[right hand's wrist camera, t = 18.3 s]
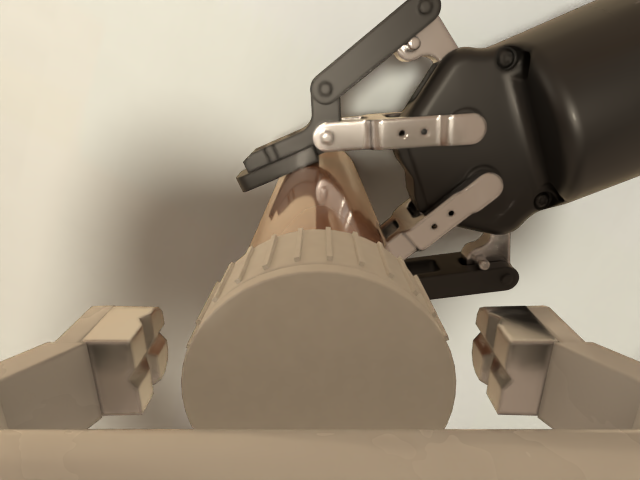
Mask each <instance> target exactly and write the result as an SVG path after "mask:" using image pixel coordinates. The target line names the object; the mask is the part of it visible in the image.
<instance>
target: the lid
mask: <svg viewBox="0 0 640 480" xmlns="http://www.w3.org/2000/svg"><path fill="white" fill-rule="evenodd" d="M196 324H197V326H196V328H195V330H194V332H193V334H192V336H191V338H190V340H189V342H188V343H187V347H186V348H188V349H187V352H186V356H185V360H184V363H183V369H182V378H181V385H182V397H183V402H184V407H185V411H186V414H187V416H188V419H189V422H190V424H191V426H192V428H193V429H445V427H446V425H447V423H448V420H449V418H450V415H451V412H452V409H453V404H454V400H455V393H456V374H455V365H454V362H453V358H452V355H451V351H450V349H449V346H448V344H447V342H446V341H447V340H449V338H448V335H447V333H446V331H445V329H444V327H443V325H442V323H441V321H440V320H439V318H438V316H437V313H436V311H435V309H434V307H433V305H432V303H431V301H430V299H429V297H428V295H427V293H426V291H425V289H424V288H423V286H422V284H421V282H420V280H419V278H418V276H417V275H415V276H413V275H412V274H411V272H410V271H409V270H408V269H407V266H406V264H405V262H404V260H403V258H402V257H400V256H399V257H398V258H397V257H395V256H394V255H393V254H392V253H391V252H389V251H388V250H386V249H385V248H384V247H383V244H382V243H381V242H379V241H378V242H377V244H376V243H374V242H372V241H370V240H368V239H366V238H363V237H360V236H358V233H357V232H354V231H353V233H352V234H351V233H347V232H341V231H336V230H331V227H326V230H323V229H315V230H303V228H298V231H296V232H291V233H287V234H284V235H281V236H277V235H276V234H274V235H272V236H271V239H270V240H268V241H266V242H263V243H261V244H259V245H258V246H256V247H255V248H254V247H253V246H250V247H249V248H248V250H247V252H246V254H245V255H244V256H242V257H241V258H240V259H239V260H238V261H237V262H236V263H235V264H234V263H233V262H231V263H230V264H229V266H228V268H227V270H226V272H225V274H224V276H223V278H222V280H221V282H218V281H217V282H216V284H215V286H214V288H213V290H212V292H211V294H210V296H209V298H208V300H207V302H206V303H205V305H204V307H203V309H202V311H201V313H200V315H199V317H198V319H197V321H196Z"/></svg>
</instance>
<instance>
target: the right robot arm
mask: <svg viewBox="0 0 640 480" xmlns="http://www.w3.org/2000/svg"><path fill="white" fill-rule="evenodd" d="M163 325H164V318H163V313H162V310H161V309H160V308H159V307H145V306H92V307H91V308H90V309H89V310H88V311H87V312H85V313H84V314H83V315H82V316H81V317H80V318H79V319H78V320H77V321H76V322H75V323H74V324H73V325H72V326H71V327H70V328H69V329H68V330H67V331H66V332H65V333H64V334H63V335H62V336H60V337H59V338H58V339H57V340H56V341H55V342H47V343H45V344H42V345H40V346H37V347H35V348H32V349H30V350H28V351H25V352H23V353H20V354H18V355H16V356H13V357H11V358H8V359H6V360H3V361H1V362H0V480H640V362H639V361H636V360H634V359H632V358H629V357H627V356H624V355H622V354H620V353H617V352H615V351H612V350H610V349H608V348H605V347H603V346H600V345H598V344H595V343H593V342H585V341H584V340H583V339H582V338H581V337H580V336H579V335H577V334H576V333H575V332H574V331H573V330H572V329H571V328H570V327H569V326H568V325H567V324H566V323H565V322H564V321H563V320H562V319H561V318H560V317H559V316H558V315H557V314H556V313H555V312H554V311H553V310H552V309H551V308H549V307H547V306H544V305H542V306H500V307H481V308H479V311H478V313H477V317H476V325H477V327H478V328H479V330H480V333H479V334H478V336H477V337H476V338H475V339H474V340H473V346H472V360H473V366H474V370H475V373H476V375H477V377H478V379H479V380H480V381H482V382H483V383H485V384H486V385H488V386H487V392H486V394H487V395H488V397H489V399H490V401H491V403H492V405H493V406H494V408H495V410H496V412H497V414H498V415H534V416H538V418H539V419H540V420H542V421H543V422H544V423H546V424H547V425H548V426H550V427H551V428H552V429H88V428H89V427H91V426H92V425H93V424H94V423H96V422H97V421H98V420H100V419H101V418H102V416H106V415H141V414H143V412H144V410H145V408H146V406H147V405H148V403H149V401H150V399H151V397H152V395H153V394H154V392H153V386H152V385H154V384H155V383H157V382H158V381H160V380H161V379H162V377H163V375H164V373H165V370H166V365H167V361H168V345H167V340H166V339H165V338H164V337H163V336H162V334H161V333H160V330H161V328H162V327H163Z"/></svg>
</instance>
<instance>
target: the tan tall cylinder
mask: <svg viewBox="0 0 640 480" xmlns="http://www.w3.org/2000/svg"><path fill="white" fill-rule="evenodd" d="M326 227H331V230H336V231H341V232H347V233H351V234H352V233H353V231H354V232H357V233H358V236H360V237H363V238H366V239H368V240H370V241H372V242H374V243H376V244H377V242H378V241H379V242H381V243H382V244H383V247H384V248H385V249H386V250H388V251H389V252H391V250H390V248H389V246H388V243H387V241H386V239H385V236H384V234H383V231H382V229H381V227H380V224H379V222H378V220H377V217H376V215H375V213H374V210H373V208H372V206H371V203H370V201H369V198H368V196H367V194H366V191H365V189H364V187H363V184H362V182H361V180H360V177H359V175H358V173H357V170H356V168H355V165H354V163H353V161H352V160H351V158H350V157H349V156H348V154H347V153H346V152H344V151H336V152H325V153H322V154H320V155H319V161H318V162H316V163H313V164H311V165H309V166H306V167H304V168H301V169H298V170H296V171H294V172H292V173H290V174H287V175H285V176H282V177H280V178H279V179H278V182H277V184H276V186H275V188H274V191H273V193H272V195H271V198H270V200H269V202H268V205H267V207H266V209H265V211H264V214H263V216H262V218H261V221H260V223H259V225H258V228H257V230H256V232H255V235H254V237H253V239H252V241H251V244H250V246H253V247H254V248H255V247H256V246H258V245H259V244H261V243H263V242H266V241H268V240H270V239H271V236H272V235H274V234H276V235H277V236H281V235H284V234H287V233H291V232H296V231H298V228H303V230H315V229H323V230H326ZM250 246H249V247H250Z"/></svg>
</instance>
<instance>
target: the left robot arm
mask: <svg viewBox="0 0 640 480" xmlns="http://www.w3.org/2000/svg"><path fill="white" fill-rule="evenodd" d="M440 10H441V1H440V0H407V1H406V2H404V3H403V4H402V5H401V6H400V7H398V8H397V9H396V10H395V11H394V12H392V13H391V14H390V15H389V16H388V17H386V18H385V19H384V20H383V21H382V22H380V23H379V24H378V25H377V26H376V27H375V28H373V29H372V30H371V31H370V32H369V33H367V34H366V35H365V36H364V37H363V38H361V39H360V40H359V41H358V42H357V43H355V44H354V45H353V46H352V47H351V48H349V49H348V50H347V51H346V52H345V53H343V54H342V55H341V56H340V57H339V58H337V59H336V60H335V61H334V62H333V63H331V64H330V65H329V66H328V67H327V68H325V69H324V70H323V71H322V72H321V73H319V74H318V75H317V76H316V77H315V78H314V79H313V81H312V83H311V87H310V91H311V106H312V118H311V120H310V122H309V123H308V125H307V126H305V127H304V128H302V129H300V130H298V131H295V132H293V133H291V134H289V135H286V136H284V137H282V138H279V139H277V140H275V141H272V142H270V143H268V144H266V145H263V146H261V147H259V148H256V149H255V150H254V151H253V152H252V153H251V154H250V155H249V156H248V157H247V158H246V160H245V161H244V162H243V163H244V165H245V167H246V169H245V170H243V171H242V172H241V173H240V174H239V175H238V176H237V177H236V179H237V181H238V183H239V185H240V187H241V189H242V191H243V192H246V191H249V190H252V189H254V188H256V187H259V186H261V185H264V184H266V183H268V182H271V181H273V180H275V179H278V178H280V177H282V176H285V175H287V174H290V173H292V172H294V171H296V170H298V169H301V168H304V167H306V166H309V165H311V164H313V163H316V162H318V161H319V155H320V154H322V153H325V152H336V151H349V150H363V149H370V150H388V149H393V152H394V155H395V157H396V158H397V160H398V161H399V163H400V164H401V165H402V167H403V168H404V170H405V178H406V188H407V191H408V193H409V196H410V198H409V199H407V200H406V201H405V202H404V203H403V204H401V205H400V206H399V207H398V208H397V209H396V210H395V211H394V212H393V214H392V216H391V217H390V218H389V219H388V220H387V221H385V222H384V223H383V224H382V225H381V226H380V227H381V229H382V231H383V234H384V236H385V239H386V241H387V243H388V246H389V248H390V250H391V253H392V254H393V255H394V256H395V257H397V258H398V257H399V256H400V257H402V258H403V260H404V262H405V264H406V266H407V269H408V270H409V271H410V272H411V274H412V275H413V276H415V275H417V276H418V278H419V280H420V282H421V284H422V286H423V288H424V289H425V291H426V293H427V295H428V297H429V299H430V300H431V299H439V298H448V297H456V296H464V295H472V294H480V293H488V292H497V291H505V290H509V289H512V288H513V287H514V286H515V285H516V284H517V283H518V280H519V274H518V272H517V271H516V270H515V269H514V268H513V267H512V266H511V264H510V232H513V231H514V230H516V229H517V228H518V227H519V226H520V225H521V224H522V223H523V222H524V221H525V220H526V219H528V218H529V217H530V216H531V215H533V214H534V213H536V212H538V211H540V210H543V209H547V208H551V207H555V206H559V205H563V204H566V203H569V202H572V201H574V200H577V199H580V198H582V197H585V196H587V195H590V194H593V193H595V192H598V191H601V190H603V189H606V188H609V187H611V186H614V185H617V184H619V183H622V182H624V181H627V180H630V179H632V178H635V177H638V176H640V0H595V1H593V2H591V3H588V4H586V5H584V6H581V7H579V8H577V9H575V10H572V11H570V12H568V13H566V14H563V15H561V16H559V17H556V18H554V19H552V20H550V21H547V22H545V23H543V24H540V25H538V26H536V27H533V28H531V29H529V30H527V31H524V32H522V33H520V34H517V35H515V36H513V37H511V38H508V39H506V40H504V41H501V42H499V43H497V44H494V45H492V46H489V47H487V48H472V47H461V48H458V47H457V45H456V43H455V42H454V40H453V38H452V37H451V35H450V34H449V32H448V30H447V29H446V27H445V25H444V24H443V22H442V20H441V19H440V17H439V16H438V15H439V13H440ZM392 54H394V56H395V57H396V58H397V59H398V60H400V61H402V62H409V61H413V60H416V59H418V58H419V57H427V58H429V59H430V60H431V61H432V62H433V65H432V66H431V68H430V69H429V71H428V73H427V74H426V76H425V77H424V79H423V80H422V82H421V83H420V85H419V87H418V88H417V90H416V91H415V93H414V94H413V96H412V97H411V99H410V101H409V102H408V104H407V105H406V107H405V108H404V110H403V111H402V112H391V113H378V114H366V115H361V116H348V117H341V111H340V96H342V95H343V94H344V93H345V92H347V91H348V90H349V89H350V88H352V87H353V86H354V85H355V84H357V83H358V82H359V81H360V80H361V79H363V78H364V77H365V76H366V75H368V74H369V73H370V72H371V71H373V70H374V69H375V68H376V67H377V66H379V65H380V64H381V63H382V62H384V61H385V60H386V59H387V58H389V57H390V56H391V55H392ZM433 224H434V225H433ZM455 226H458V227H462V228H467V229H471V230H475V231H480V232H483V234H482V236H481V237H480V238H479V239H477V240H476V241H473V242H469V243H467V244H465V245H464V247H463V248H462V251H461V252H456V253H448V254H440V255H432V256H424V257H416V258H409V259H406V258H407V257H409V256H410V255H411V254H413V253H414V252H416V251H423V250H425V249H427V248H428V247H429V246H431V245H432V244H433V243H435V242H436V241H437V240H438V239H440V238H441V237H442V236H444V235H445V234H446V233H448V232H449V231H450V230H451V229H453V228H454V227H455Z"/></svg>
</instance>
